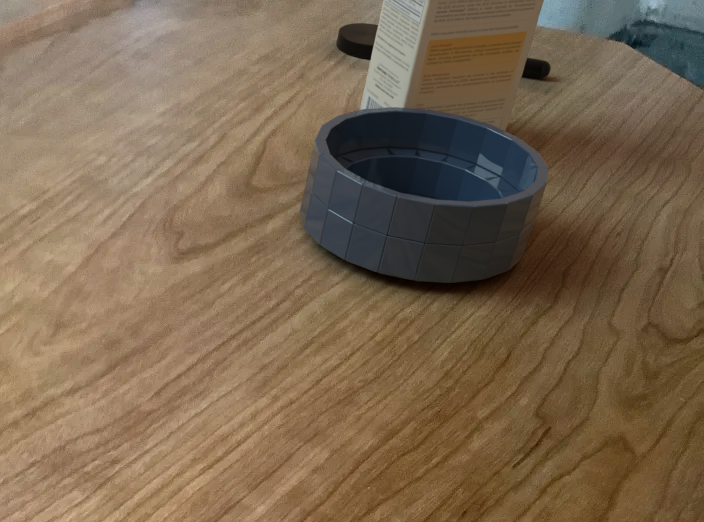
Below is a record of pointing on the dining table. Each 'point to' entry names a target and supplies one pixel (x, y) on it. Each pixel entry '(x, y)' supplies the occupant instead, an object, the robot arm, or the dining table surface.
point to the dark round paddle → (362, 39)
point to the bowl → (422, 194)
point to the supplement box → (451, 56)
